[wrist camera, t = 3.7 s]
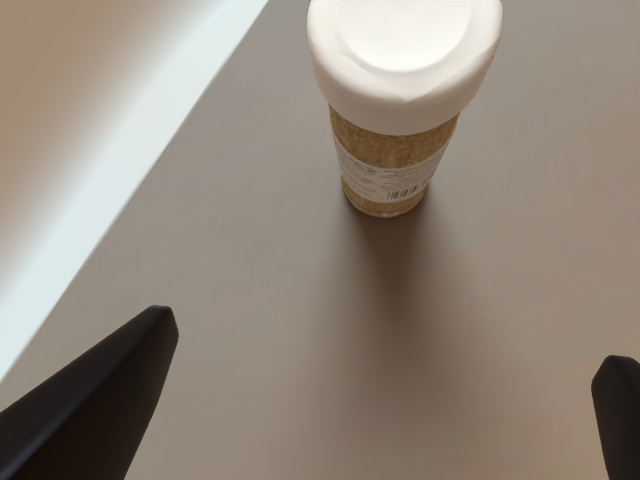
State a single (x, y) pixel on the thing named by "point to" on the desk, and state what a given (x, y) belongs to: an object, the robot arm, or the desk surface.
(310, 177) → the desk surface
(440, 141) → the spice jar
